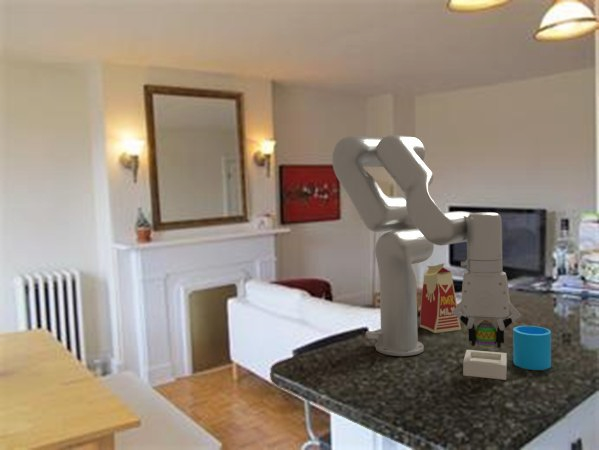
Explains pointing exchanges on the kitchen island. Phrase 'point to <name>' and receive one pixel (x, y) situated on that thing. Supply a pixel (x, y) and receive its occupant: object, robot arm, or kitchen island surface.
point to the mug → (532, 347)
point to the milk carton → (438, 301)
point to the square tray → (485, 364)
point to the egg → (486, 334)
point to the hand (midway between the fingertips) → (486, 344)
